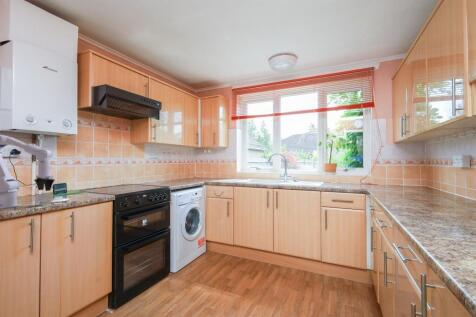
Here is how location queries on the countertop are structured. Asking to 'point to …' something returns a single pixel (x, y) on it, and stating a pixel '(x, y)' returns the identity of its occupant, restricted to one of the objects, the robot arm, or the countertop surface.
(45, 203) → the block
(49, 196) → the grey square block
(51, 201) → the cream round disc
